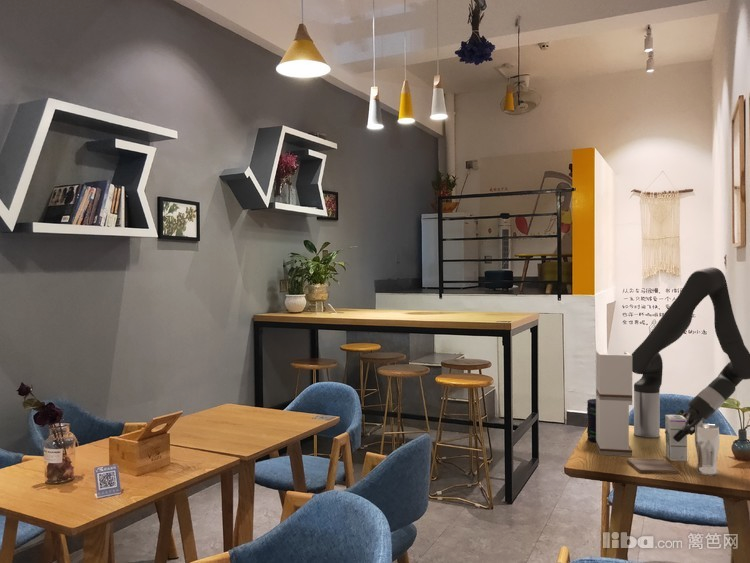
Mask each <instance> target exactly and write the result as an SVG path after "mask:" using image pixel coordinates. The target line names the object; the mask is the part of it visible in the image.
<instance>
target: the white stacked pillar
mask: <svg viewBox="0 0 750 563" xmlns="http://www.w3.org/2000/svg"><path fill="white" fill-rule="evenodd" d="M595 359H596V360H595V399H596V443H595V446H596V448H597V450H598V453H599V455H604V456H605V455H606V456H607V455H608V456H623V457H633V449H632V448H631V446H630V435H629V434H630V418H629V417H630V406H633V372H632V353H630V352H628V351H623V354H607V353H602V352H601V351H600V350H596V351H595Z"/></svg>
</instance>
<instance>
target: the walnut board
mask: <svg viewBox="0 0 750 563" xmlns="http://www.w3.org/2000/svg"><path fill="white" fill-rule="evenodd" d="M626 463H627V464H629V466H631V467H633V468H634V469H635V470H636V471H637V472H638V473H639V474H678V473H679V474H680V470H679V469H678V468H676V467H675V466H674V465H672V464H671V463H669V462H668V461H666V459H664V458H626Z"/></svg>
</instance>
